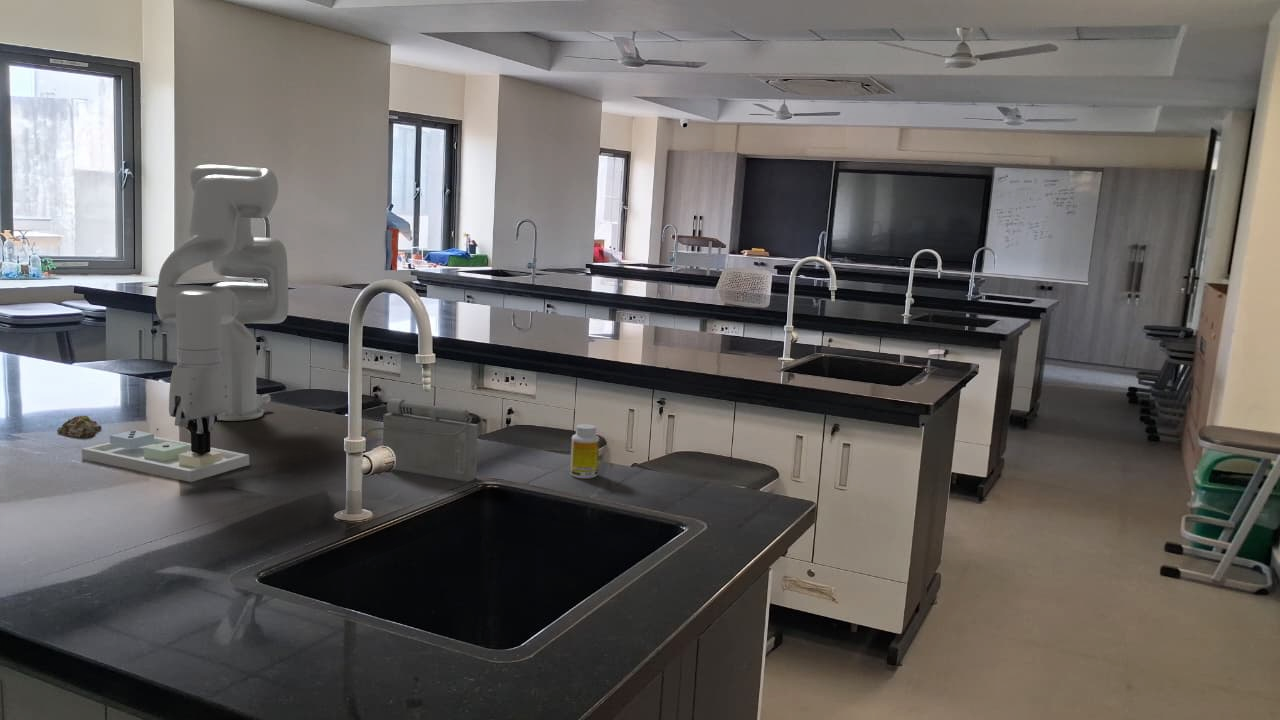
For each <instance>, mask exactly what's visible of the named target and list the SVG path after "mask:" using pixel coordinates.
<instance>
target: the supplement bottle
mask: <svg viewBox="0 0 1280 720" xmlns="http://www.w3.org/2000/svg"><path fill="white" fill-rule="evenodd" d="M596 433H597V427H596V425H593V424H588V423H586V424H585V423H584V424H583V423H581V424H577V425H576V428H575V434H573V435H572V436H571V440H570V441H571V444H570V462H569V463H570V465H569V466H570V467H569V469H570V470H569V474H570V475H571V476H572V477H573V478H576V479H582V480H585V479H586V480H587V479H593V478H596V477H597V476H598V470H599V468H598V467H599V454H600V453H599V452H600V451H599V450H600V437H599V436H598V435H597V434H596Z"/></svg>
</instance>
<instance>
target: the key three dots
mask: <svg viewBox="0 0 1280 720" xmlns="http://www.w3.org/2000/svg"><path fill="white" fill-rule="evenodd" d="M154 436H155V433H150V432H146V431H140V430H137V429H135V430H134V429H133V430H129V431H124V432H120V433H116V434H110V436H109V441H110V445H111V446H116V447H121V448H126V449H134V448H138V447H143V446H147V445H151V444H154Z"/></svg>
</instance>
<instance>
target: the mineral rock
mask: <svg viewBox="0 0 1280 720" xmlns="http://www.w3.org/2000/svg"><path fill="white" fill-rule="evenodd" d="M102 429H103V427H102V425H100V424H98V422H97V421H95V420H94V421H93V420H92V419H90V417H89V416H88V415H80V416H74V417H73V418H70V419H68V420H67V421H65V422H64V423H62V425H61V427H58V428H57V430H56V432H57V433H58V434H61V435H63V436H66V437H69V438H80V439H81V438H90V437H94V436H96V434H97V432H101V430H102Z"/></svg>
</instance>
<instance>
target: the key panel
mask: <svg viewBox="0 0 1280 720" xmlns="http://www.w3.org/2000/svg"><path fill="white" fill-rule="evenodd" d="M164 442H172V443H177V444H182V445H187V446H188V452H189V451H191V442H185V441H180V440H174V439H169V438H165V437H161V436H160V437H159V436H155V435H154V444H151V445H155V444H160V443H164ZM151 445H147V446H151ZM147 446H143V447H138V448H134V449H126V448H121V447H116V446H111V445H110V442H105V443H102V444H96V445H92V446H88V447H83V448H81V459H82V460H86V461H91V462H95V463H101V464H104V465H109V466H114V467H120V468H123V469H128V470H132V471H137V472H140V473H141V472H142V473H148V474H152V475H156V476H159V477H160V476H161V477H165V478H169V477H170V479H176V480H180V481H183V482H189V483H192V482H196V481H199V480H203V479H205V478H209V477H213V476H217V475H219V474H223V473H227V472H229V471H232V470H233V471H234V470H237V469H240V468H243V467H247V466H250V454H246V453H242V452H238V451H237V452H236V451H230V450H225V449H220V448H215V447H211V446H210V450H213V451H218V452H223V460H222V461H219V462H215V463H212V464H208V465H205V466H201V467H197V468H193V467H188V466H184V465H179V458H177V459H173V460H169V461H165V462H164V461H159V460H154V459H149V458H144V447H147Z"/></svg>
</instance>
